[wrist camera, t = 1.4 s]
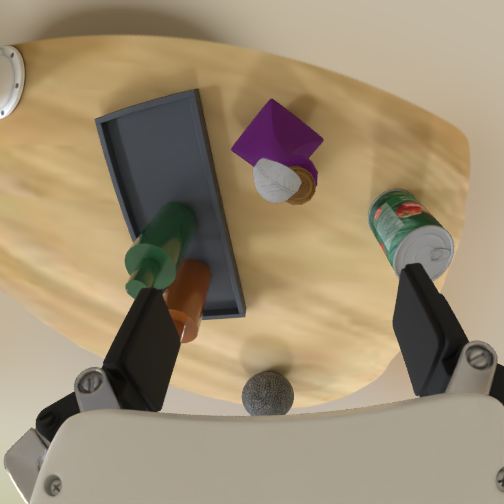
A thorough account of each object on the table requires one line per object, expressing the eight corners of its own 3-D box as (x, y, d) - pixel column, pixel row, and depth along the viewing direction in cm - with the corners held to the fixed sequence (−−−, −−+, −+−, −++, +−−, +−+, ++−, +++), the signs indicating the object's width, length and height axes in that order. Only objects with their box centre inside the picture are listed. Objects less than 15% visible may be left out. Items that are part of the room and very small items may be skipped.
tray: (102, 116, 34) (94, 119, 33) (198, 88, 33) (194, 89, 31) (168, 313, 52) (165, 321, 50) (246, 308, 50) (245, 317, 48)
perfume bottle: (320, 134, 35) (359, 182, 20) (281, 179, 38) (288, 256, 23) (271, 96, 33) (271, 110, 17) (233, 143, 36) (203, 197, 21)
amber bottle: (168, 261, 45) (134, 333, 32) (206, 256, 44) (182, 332, 31) (179, 292, 48) (153, 366, 35) (216, 289, 47) (198, 367, 34)
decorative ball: (242, 387, 62) (238, 426, 53) (245, 359, 57) (241, 403, 48) (288, 390, 62) (288, 430, 53) (297, 363, 57) (299, 407, 48)
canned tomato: (367, 242, 42) (390, 290, 33) (367, 190, 38) (396, 229, 29) (416, 237, 41) (447, 281, 32) (420, 187, 37) (459, 223, 28)
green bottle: (150, 205, 40) (101, 268, 28) (191, 198, 40) (153, 262, 27) (162, 243, 43) (123, 314, 31) (201, 238, 43) (173, 312, 30)
